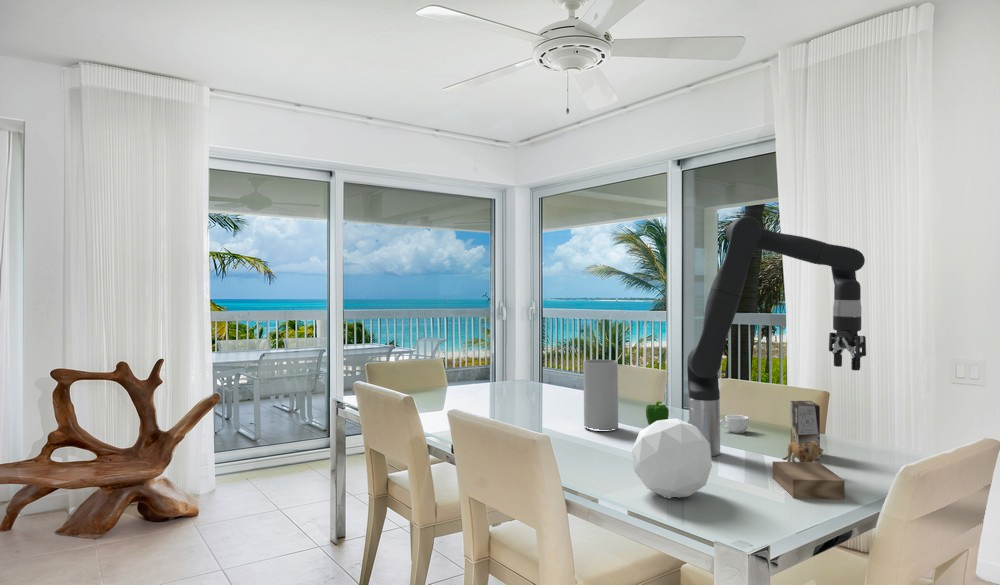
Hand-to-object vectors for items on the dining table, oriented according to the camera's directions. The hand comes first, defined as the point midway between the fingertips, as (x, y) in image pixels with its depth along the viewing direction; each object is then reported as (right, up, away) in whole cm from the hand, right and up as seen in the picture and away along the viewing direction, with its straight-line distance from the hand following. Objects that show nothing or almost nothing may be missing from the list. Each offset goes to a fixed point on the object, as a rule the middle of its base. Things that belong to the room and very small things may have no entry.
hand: (846, 368), depth 189 cm
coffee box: (-11, -27, +3) cm, 30 cm away
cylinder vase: (-68, -28, +42) cm, 84 cm away
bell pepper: (-46, -28, +45) cm, 70 cm away
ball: (-62, -28, -32) cm, 75 cm away
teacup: (-21, -27, +35) cm, 49 cm away
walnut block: (-26, -28, -28) cm, 48 cm away
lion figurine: (-19, -28, -11) cm, 35 cm away
